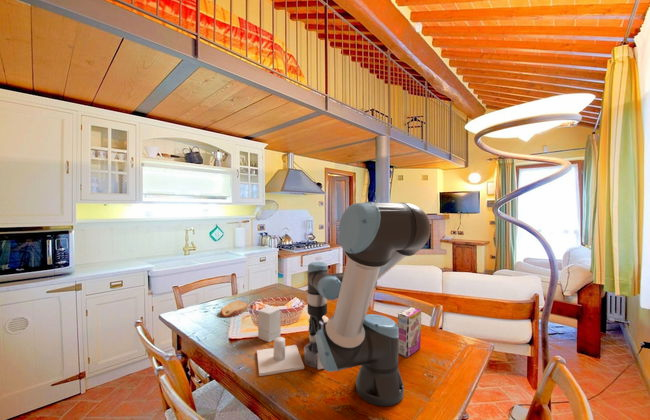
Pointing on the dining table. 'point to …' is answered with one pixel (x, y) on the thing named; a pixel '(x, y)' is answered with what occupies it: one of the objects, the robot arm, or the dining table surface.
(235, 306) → the slice of bread
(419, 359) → the dining table surface
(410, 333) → the candy bar box
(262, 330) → the supplement box
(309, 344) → the ring
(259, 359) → the post
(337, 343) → the robot arm
